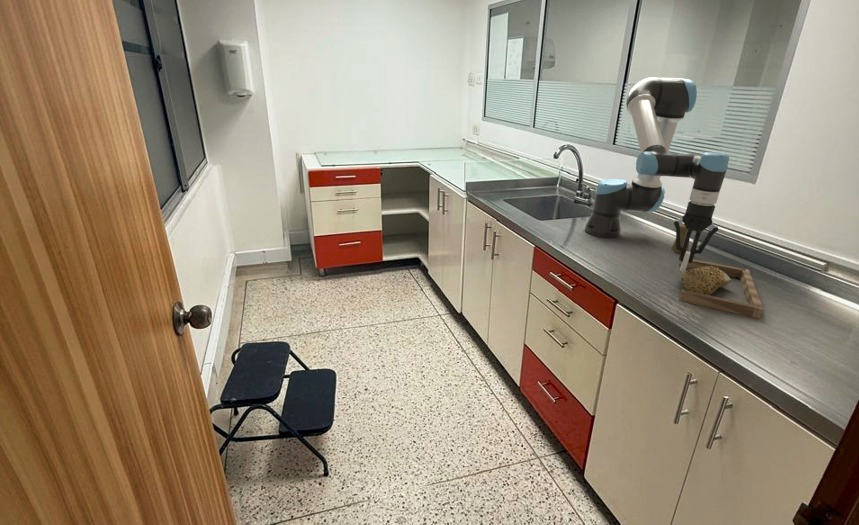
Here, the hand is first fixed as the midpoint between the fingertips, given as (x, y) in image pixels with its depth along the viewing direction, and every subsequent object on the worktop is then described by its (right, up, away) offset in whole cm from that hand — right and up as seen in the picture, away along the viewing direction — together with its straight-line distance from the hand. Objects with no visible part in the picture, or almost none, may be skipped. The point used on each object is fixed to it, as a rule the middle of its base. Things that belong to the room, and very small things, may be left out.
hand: (682, 270), depth 148 cm
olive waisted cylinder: (+16, +7, +30) cm, 34 cm away
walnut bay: (+9, -6, -3) cm, 11 cm away
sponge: (+4, -7, -4) cm, 9 cm away
